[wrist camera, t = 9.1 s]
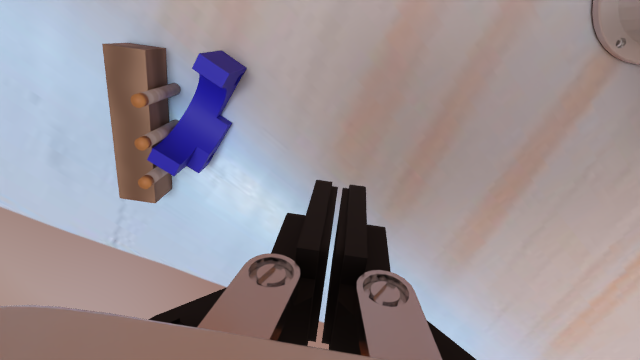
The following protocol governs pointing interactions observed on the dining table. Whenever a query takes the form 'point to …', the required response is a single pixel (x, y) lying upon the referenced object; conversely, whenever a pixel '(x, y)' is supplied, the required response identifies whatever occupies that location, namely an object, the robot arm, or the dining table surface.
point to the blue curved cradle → (201, 116)
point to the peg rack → (139, 116)
